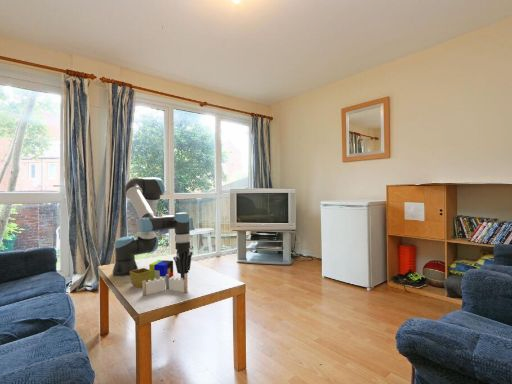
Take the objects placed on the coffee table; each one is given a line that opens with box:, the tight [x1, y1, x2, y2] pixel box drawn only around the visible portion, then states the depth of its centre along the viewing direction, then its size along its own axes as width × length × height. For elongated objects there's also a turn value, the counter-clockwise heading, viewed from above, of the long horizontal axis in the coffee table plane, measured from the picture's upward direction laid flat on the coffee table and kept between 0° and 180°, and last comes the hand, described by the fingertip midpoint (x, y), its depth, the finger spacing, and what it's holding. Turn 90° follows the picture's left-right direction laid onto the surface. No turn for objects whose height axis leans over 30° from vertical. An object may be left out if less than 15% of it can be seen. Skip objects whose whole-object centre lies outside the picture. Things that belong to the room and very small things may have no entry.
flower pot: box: [129, 267, 151, 288], centre depth 153 cm, size 9×9×9 cm
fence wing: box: [168, 276, 189, 294], centre depth 144 cm, size 12×2×7 cm, turn 66°
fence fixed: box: [141, 274, 169, 297], centre depth 143 cm, size 14×2×8 cm, turn 131°
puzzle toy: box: [148, 259, 174, 281], centre depth 166 cm, size 10×10×10 cm
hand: (184, 285), depth 146 cm, fingers closed
